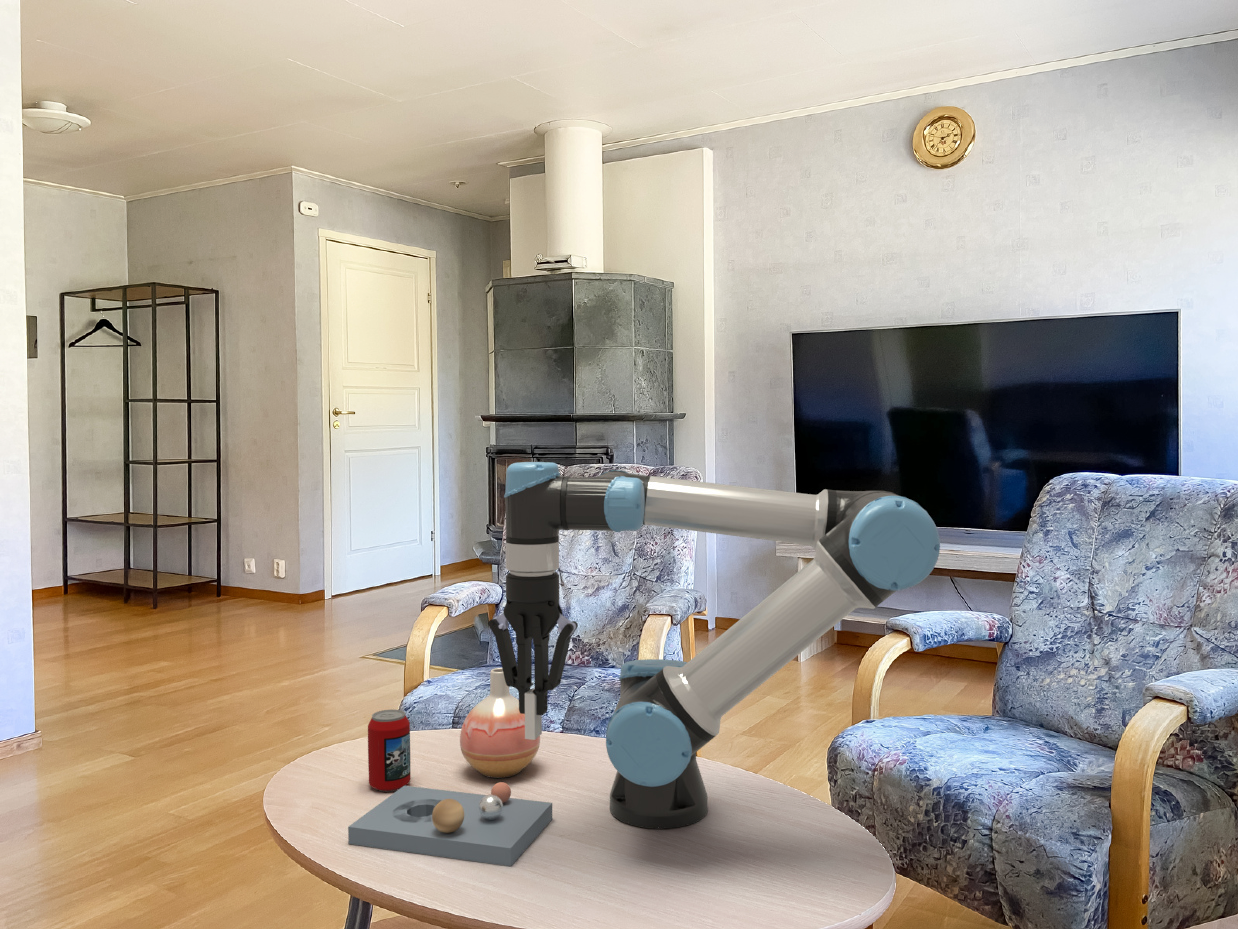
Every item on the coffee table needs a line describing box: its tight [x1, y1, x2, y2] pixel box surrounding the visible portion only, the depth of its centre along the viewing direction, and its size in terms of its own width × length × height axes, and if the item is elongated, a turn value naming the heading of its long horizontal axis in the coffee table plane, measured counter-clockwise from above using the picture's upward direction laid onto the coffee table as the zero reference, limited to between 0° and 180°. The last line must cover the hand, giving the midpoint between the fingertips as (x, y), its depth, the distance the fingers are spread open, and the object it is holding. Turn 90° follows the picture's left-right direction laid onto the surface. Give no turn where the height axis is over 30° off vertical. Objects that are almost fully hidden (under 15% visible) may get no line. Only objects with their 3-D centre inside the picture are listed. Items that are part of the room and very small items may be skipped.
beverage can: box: [367, 709, 412, 793], centre depth 159 cm, size 7×7×12 cm
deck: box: [347, 785, 553, 867], centre depth 141 cm, size 25×16×2 cm, turn 73°
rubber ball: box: [490, 781, 512, 803], centre depth 146 cm, size 3×3×3 cm
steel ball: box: [478, 793, 503, 820], centre depth 140 cm, size 4×4×4 cm
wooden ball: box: [432, 799, 464, 833], centre depth 135 cm, size 4×4×4 cm
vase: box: [459, 667, 541, 779], centre depth 165 cm, size 14×14×18 cm
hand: (533, 736), depth 137 cm, fingers closed
